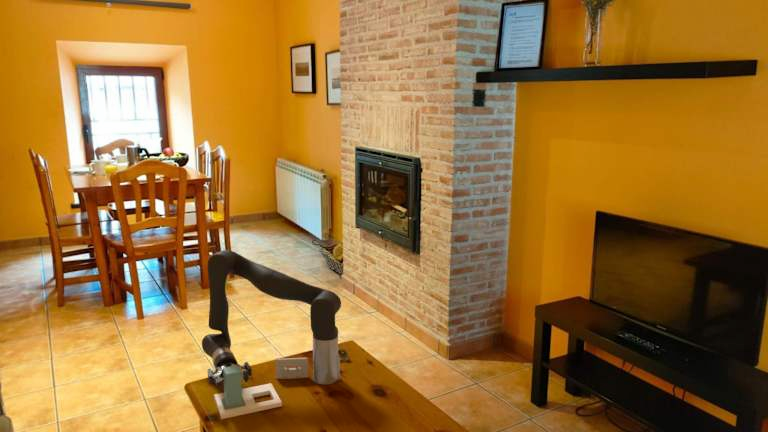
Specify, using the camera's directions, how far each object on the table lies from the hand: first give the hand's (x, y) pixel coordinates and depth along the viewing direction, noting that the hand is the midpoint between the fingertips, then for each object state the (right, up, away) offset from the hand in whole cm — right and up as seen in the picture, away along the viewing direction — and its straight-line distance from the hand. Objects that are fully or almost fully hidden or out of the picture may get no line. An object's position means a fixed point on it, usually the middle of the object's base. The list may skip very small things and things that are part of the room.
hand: (233, 382), depth 191 cm
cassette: (+15, -6, +25) cm, 30 cm away
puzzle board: (+3, -9, +7) cm, 12 cm away
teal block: (-1, -8, +3) cm, 9 cm away
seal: (+29, -2, +42) cm, 51 cm away
